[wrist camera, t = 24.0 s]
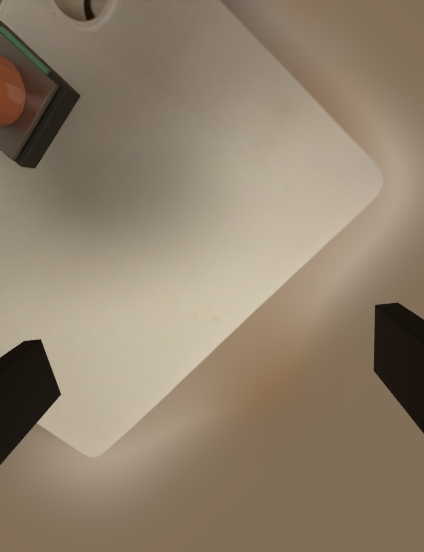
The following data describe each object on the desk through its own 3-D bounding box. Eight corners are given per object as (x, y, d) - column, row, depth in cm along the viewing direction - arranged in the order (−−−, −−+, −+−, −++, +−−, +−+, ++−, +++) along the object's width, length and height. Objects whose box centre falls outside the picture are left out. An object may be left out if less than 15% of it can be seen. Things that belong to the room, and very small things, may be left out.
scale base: (3, 22, 31) (-21, 5, 28) (80, 95, 32) (66, 86, 29) (-38, 105, 34) (-63, 97, 31) (35, 168, 35) (17, 166, 32)
